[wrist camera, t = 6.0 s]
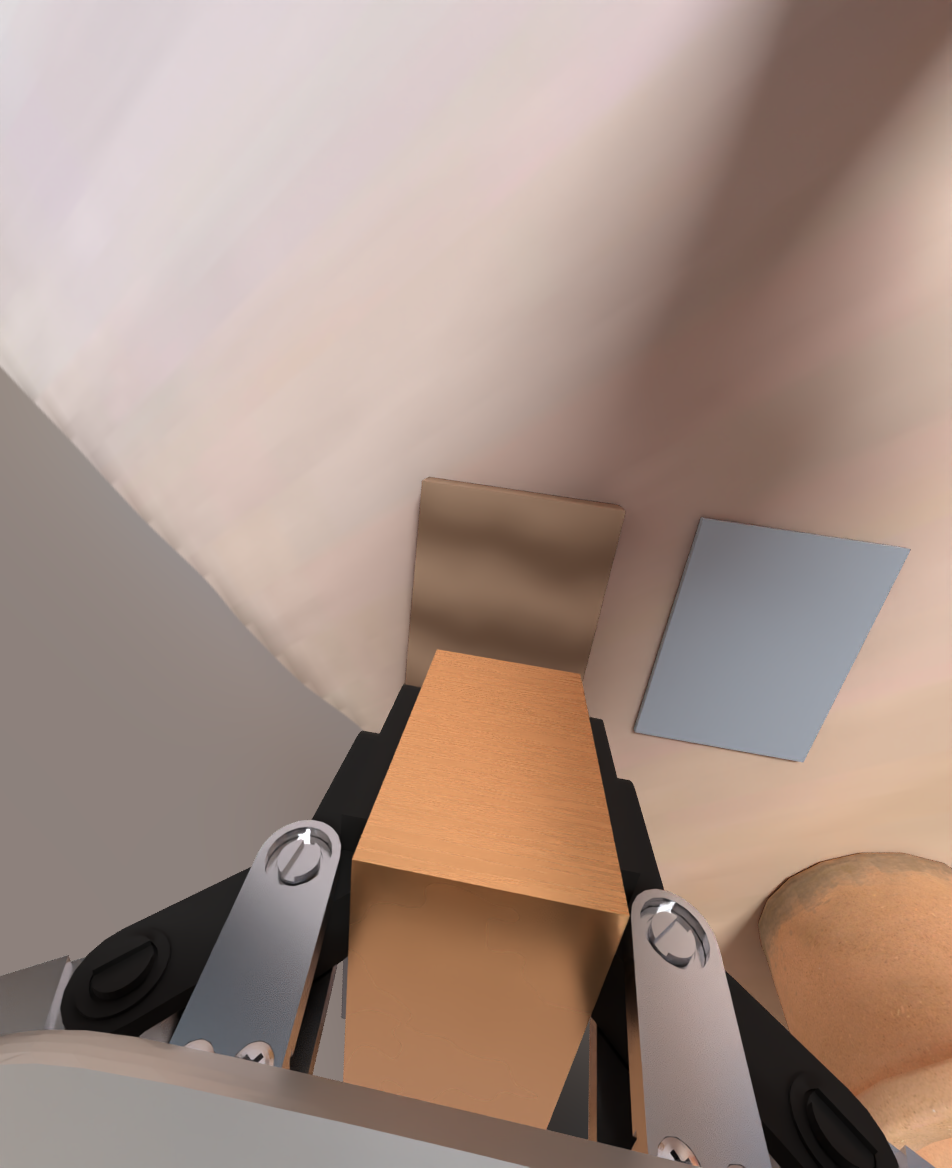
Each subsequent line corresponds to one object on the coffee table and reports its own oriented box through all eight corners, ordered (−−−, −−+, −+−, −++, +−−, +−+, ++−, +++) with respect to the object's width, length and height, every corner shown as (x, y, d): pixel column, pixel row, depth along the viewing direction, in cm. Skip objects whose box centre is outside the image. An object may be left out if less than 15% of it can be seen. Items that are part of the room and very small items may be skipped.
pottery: (688, 866, 36) (782, 1123, 23) (999, 790, 31) (1361, 1070, 17) (765, 1020, 42) (877, 1300, 29) (1040, 979, 36) (1340, 1302, 23)
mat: (701, 517, 27) (703, 518, 26) (905, 547, 26) (910, 549, 26) (633, 728, 32) (635, 732, 32) (800, 758, 32) (803, 762, 31)
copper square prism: (371, 637, 11) (227, 834, 6) (649, 686, 10) (767, 944, 5) (354, 975, 16) (270, 1243, 11) (543, 1017, 15) (549, 1316, 10)
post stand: (429, 477, 28) (362, 512, 16) (619, 505, 27) (684, 562, 16) (407, 710, 34) (349, 850, 23) (561, 738, 33) (578, 896, 22)
